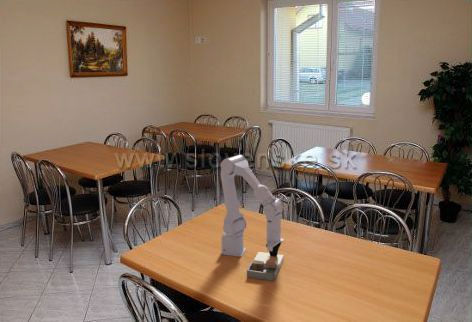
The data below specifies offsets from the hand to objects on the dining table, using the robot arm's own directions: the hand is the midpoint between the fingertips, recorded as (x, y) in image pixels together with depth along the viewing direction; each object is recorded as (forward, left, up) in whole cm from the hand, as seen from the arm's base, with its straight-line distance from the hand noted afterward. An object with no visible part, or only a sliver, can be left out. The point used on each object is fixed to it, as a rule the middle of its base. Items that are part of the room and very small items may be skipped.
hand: (273, 259), depth 164 cm
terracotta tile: (0, -2, -1) cm, 3 cm away
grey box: (-3, -7, -3) cm, 8 cm away
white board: (-3, +2, -3) cm, 4 cm away
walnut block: (-5, -5, -1) cm, 7 cm away
